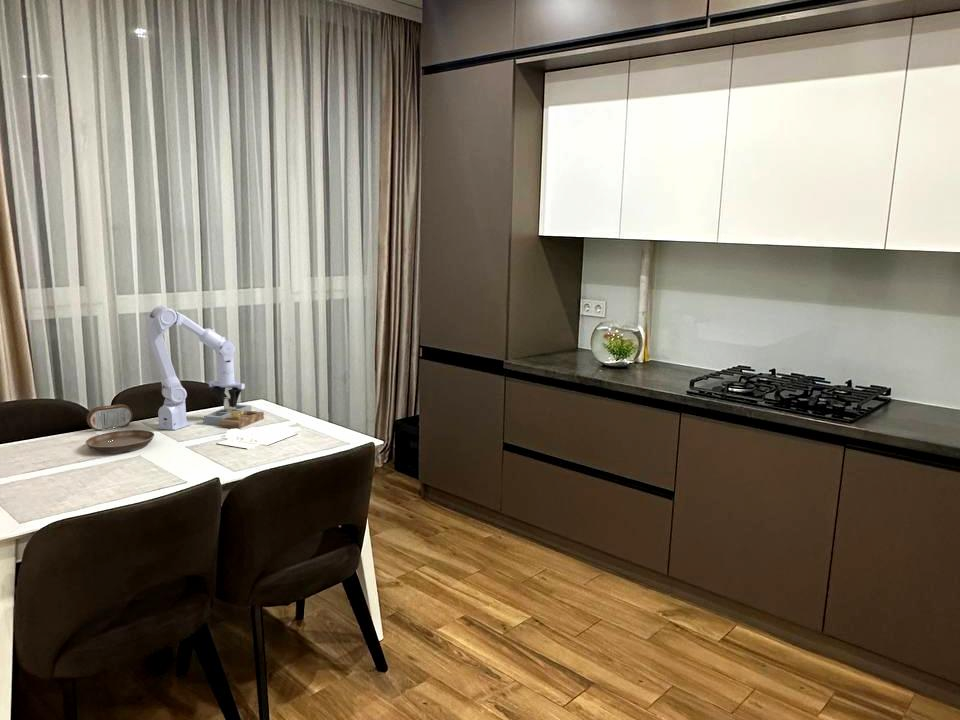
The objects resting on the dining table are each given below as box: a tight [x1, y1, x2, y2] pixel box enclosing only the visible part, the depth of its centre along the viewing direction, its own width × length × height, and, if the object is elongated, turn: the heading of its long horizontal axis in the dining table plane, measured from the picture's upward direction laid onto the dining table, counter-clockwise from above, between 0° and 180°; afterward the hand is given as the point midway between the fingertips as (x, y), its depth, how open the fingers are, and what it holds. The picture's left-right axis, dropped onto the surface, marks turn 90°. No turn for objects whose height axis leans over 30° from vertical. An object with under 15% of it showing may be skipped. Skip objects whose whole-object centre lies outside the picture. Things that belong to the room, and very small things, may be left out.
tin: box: [86, 403, 134, 431], centre depth 264 cm, size 15×3×8 cm, turn 130°
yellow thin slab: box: [228, 409, 244, 420], centre depth 270 cm, size 1×6×5 cm, turn 74°
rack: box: [203, 403, 252, 426], centre depth 280 cm, size 20×7×3 cm, turn 163°
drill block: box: [219, 410, 265, 430], centre depth 274 cm, size 16×8×2 cm, turn 163°
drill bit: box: [223, 396, 233, 412], centre depth 280 cm, size 3×3×8 cm
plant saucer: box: [85, 429, 155, 454], centre depth 243 cm, size 21×21×3 cm
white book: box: [215, 423, 302, 450], centre depth 256 cm, size 20×28×4 cm
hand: (227, 406), depth 280 cm, fingers open, 5 cm apart
